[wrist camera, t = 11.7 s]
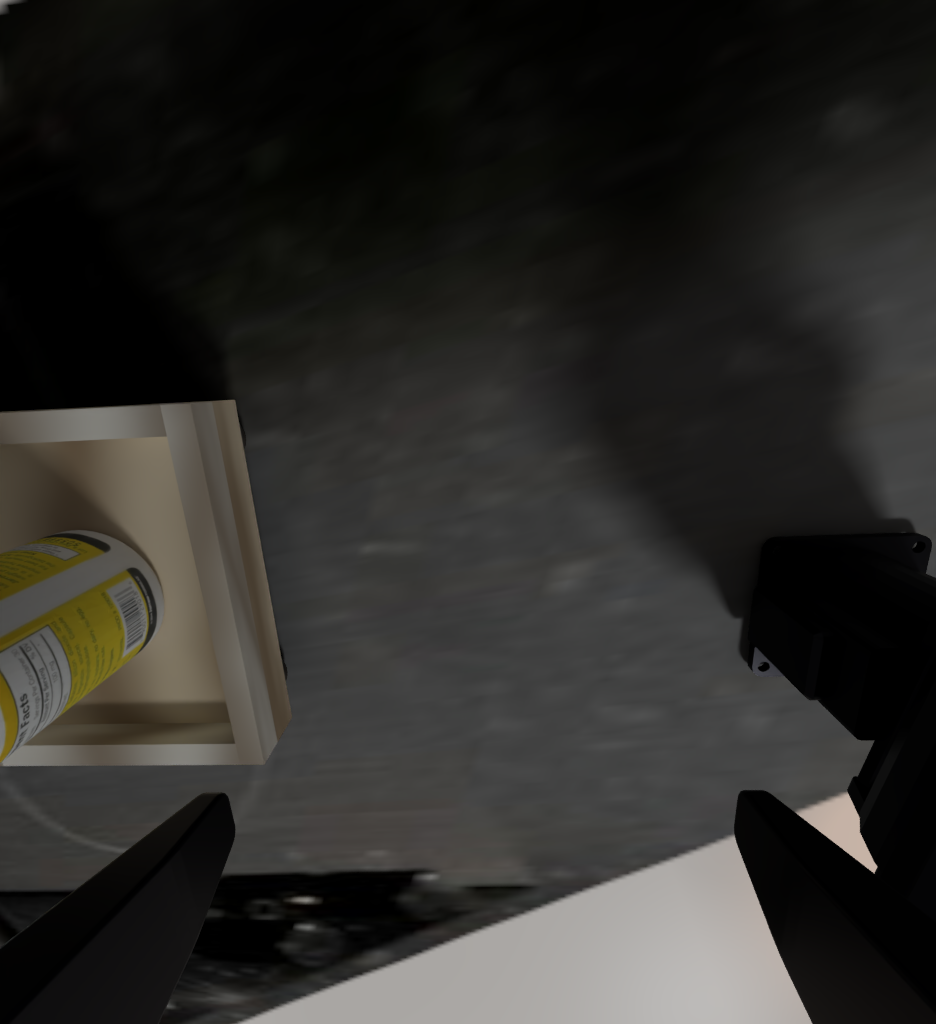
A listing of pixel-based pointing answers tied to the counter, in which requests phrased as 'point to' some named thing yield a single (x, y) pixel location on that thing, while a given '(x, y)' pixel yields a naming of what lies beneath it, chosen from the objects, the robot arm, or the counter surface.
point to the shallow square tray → (178, 567)
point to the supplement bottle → (68, 624)
